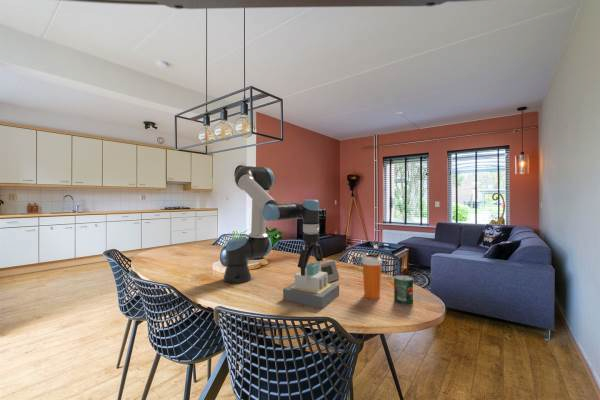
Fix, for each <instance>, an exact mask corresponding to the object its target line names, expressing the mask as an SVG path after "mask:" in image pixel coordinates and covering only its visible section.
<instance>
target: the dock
mask: <svg viewBox="0 0 600 400" xmlns="http://www.w3.org/2000/svg"><path fill="white" fill-rule="evenodd" d="M319 289H320V288H319ZM339 296H340V284H337V283H332V282H330V283H328V285H327V286H324V288H323V289H320V291H319V292H316V291H311V290H306V289H301V288H296V287H295V282H294V283H292V284H290V285H288V286H286V287H284V288H282V300H283V301H287V302H291V303H295V304H299V305H303V306H308V307H313V308H317V309H320V310H323V309H324V308H326V306H328V305H329V304H331V302H333V301H334V300H335V299H336V298H338V297H339Z"/></svg>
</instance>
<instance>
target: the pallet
mask: <svg viewBox="0 0 600 400" xmlns="http://www.w3.org/2000/svg"><path fill="white" fill-rule="evenodd" d="M294 283H295V287H296V288H301V289H306V290H311V291H316V292H319V291H320V289H323V288H324V286H327V285H328V273H327V272H321V271H319V273H317V274H315V275H314V276H313V275H307V283H304V282H301V271H299V272H297V273H295V274H294ZM319 288H320V289H319Z"/></svg>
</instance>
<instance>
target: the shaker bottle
mask: <svg viewBox="0 0 600 400" xmlns="http://www.w3.org/2000/svg"><path fill="white" fill-rule="evenodd" d="M362 255H363V257H362V259H361V263H362V273H363V296H364V297H365V298H366V299H370V300H377V299H379V298H380V296H381V279H382V278H381V277H382V264H383V261H382V259H381V257H380V254H379V253H371V252H366V253H364V254H362Z"/></svg>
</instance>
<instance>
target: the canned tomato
mask: <svg viewBox="0 0 600 400" xmlns="http://www.w3.org/2000/svg"><path fill="white" fill-rule="evenodd" d="M393 287H394V288H393V293H394V294H393V295H394V296H393V298H394V299H393V302H394V303H395V304H397V305H399V306H403V307H404V306H406V307H407V306H412V305H413V304H414V278H413V276H410V275H405V274H397V275H394V276H393Z"/></svg>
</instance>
